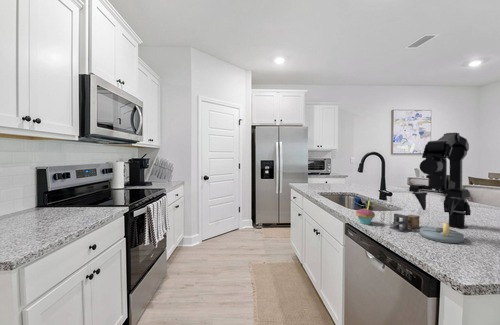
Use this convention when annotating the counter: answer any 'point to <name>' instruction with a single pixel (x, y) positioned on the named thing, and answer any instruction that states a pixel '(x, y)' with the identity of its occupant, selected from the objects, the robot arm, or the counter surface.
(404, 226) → the eye bracket
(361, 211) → the cupcake
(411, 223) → the grey brown long block
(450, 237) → the handwheel
